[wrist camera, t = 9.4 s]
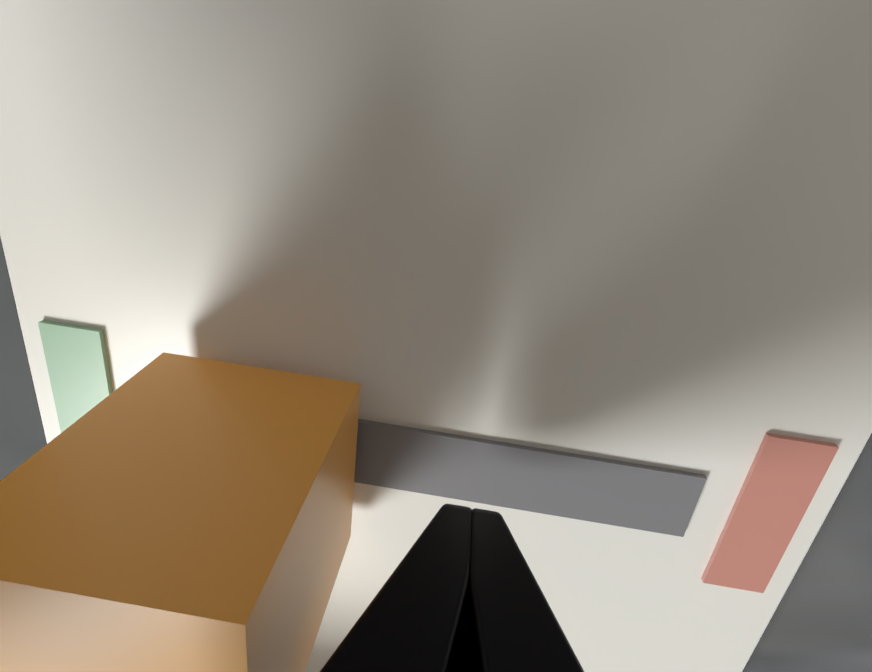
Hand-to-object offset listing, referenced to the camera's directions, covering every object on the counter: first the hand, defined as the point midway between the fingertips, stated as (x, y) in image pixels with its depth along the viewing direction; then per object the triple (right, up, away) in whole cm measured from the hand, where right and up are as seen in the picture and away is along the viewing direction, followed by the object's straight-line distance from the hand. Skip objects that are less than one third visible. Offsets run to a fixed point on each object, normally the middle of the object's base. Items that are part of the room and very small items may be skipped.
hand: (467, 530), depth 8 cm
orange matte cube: (-3, +1, +1) cm, 3 cm away
